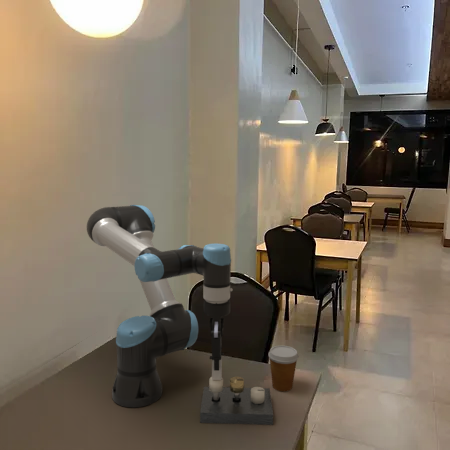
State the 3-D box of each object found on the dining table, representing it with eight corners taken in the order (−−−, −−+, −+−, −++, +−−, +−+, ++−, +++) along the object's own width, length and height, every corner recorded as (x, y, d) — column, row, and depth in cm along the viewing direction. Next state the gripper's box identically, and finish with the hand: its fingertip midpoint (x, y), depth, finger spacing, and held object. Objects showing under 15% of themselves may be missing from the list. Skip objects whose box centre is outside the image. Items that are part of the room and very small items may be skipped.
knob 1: (208, 402, 127) (208, 382, 126) (209, 394, 131) (209, 375, 130) (222, 402, 127) (222, 382, 126) (223, 395, 131) (223, 375, 130)
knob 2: (250, 413, 127) (250, 393, 126) (250, 405, 131) (250, 386, 130) (264, 413, 127) (265, 393, 126) (263, 405, 131) (264, 386, 130)
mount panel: (200, 422, 122) (200, 412, 122) (204, 395, 136) (204, 386, 136) (272, 424, 122) (273, 414, 121) (269, 397, 136) (269, 388, 135)
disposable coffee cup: (296, 396, 137) (298, 359, 135) (265, 392, 139) (266, 356, 137) (297, 381, 146) (299, 346, 144) (269, 377, 148) (270, 343, 146)
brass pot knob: (229, 402, 127) (229, 382, 126) (229, 395, 131) (230, 376, 130) (243, 403, 127) (244, 383, 126) (243, 395, 131) (243, 376, 130)
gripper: (229, 307, 118) (229, 390, 121) (230, 292, 131) (230, 368, 134) (201, 306, 118) (201, 390, 121) (205, 292, 131) (205, 368, 134)
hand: (216, 378), depth 128 cm, fingers closed
